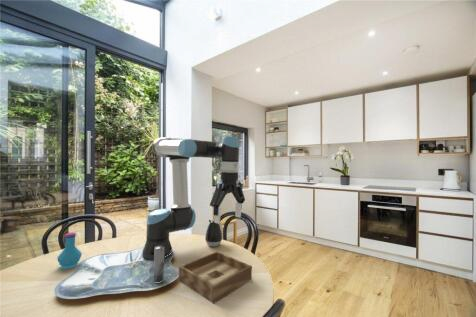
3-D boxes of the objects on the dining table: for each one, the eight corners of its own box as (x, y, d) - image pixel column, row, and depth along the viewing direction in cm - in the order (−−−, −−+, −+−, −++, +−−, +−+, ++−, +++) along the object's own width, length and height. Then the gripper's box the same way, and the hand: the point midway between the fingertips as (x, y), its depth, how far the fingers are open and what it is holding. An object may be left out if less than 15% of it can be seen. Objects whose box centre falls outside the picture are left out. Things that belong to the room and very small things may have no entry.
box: (178, 280, 93) (179, 266, 93) (216, 263, 110) (217, 251, 110) (213, 303, 79) (214, 286, 79) (251, 279, 95) (251, 265, 95)
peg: (151, 280, 92) (152, 247, 93) (160, 277, 95) (161, 244, 96) (156, 284, 90) (157, 250, 90) (165, 280, 93) (166, 247, 93)
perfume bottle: (83, 265, 104) (84, 233, 105) (58, 272, 98) (60, 238, 98) (78, 259, 111) (80, 229, 111) (55, 265, 104) (56, 233, 104)
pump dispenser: (215, 240, 141) (215, 217, 141) (225, 245, 133) (225, 220, 133) (201, 244, 134) (202, 219, 134) (211, 249, 126) (212, 223, 127)
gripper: (215, 172, 84) (213, 227, 84) (253, 171, 104) (251, 216, 103) (202, 171, 89) (200, 223, 89) (240, 170, 108) (239, 213, 108)
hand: (228, 219), depth 96 cm, fingers open, 13 cm apart
